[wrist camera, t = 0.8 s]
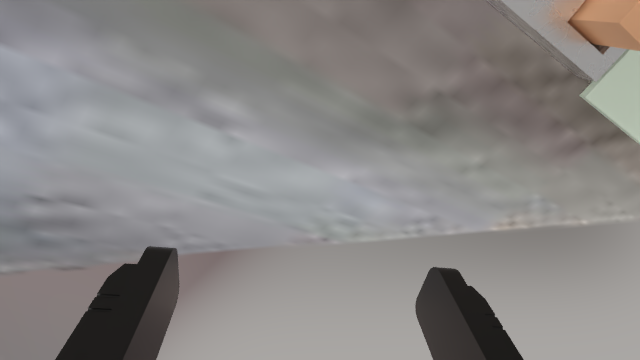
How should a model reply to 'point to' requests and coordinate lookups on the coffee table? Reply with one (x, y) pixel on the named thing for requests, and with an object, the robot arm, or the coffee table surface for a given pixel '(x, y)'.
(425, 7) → the coffee table surface
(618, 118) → the rubber pad
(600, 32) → the orange block
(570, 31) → the rail
